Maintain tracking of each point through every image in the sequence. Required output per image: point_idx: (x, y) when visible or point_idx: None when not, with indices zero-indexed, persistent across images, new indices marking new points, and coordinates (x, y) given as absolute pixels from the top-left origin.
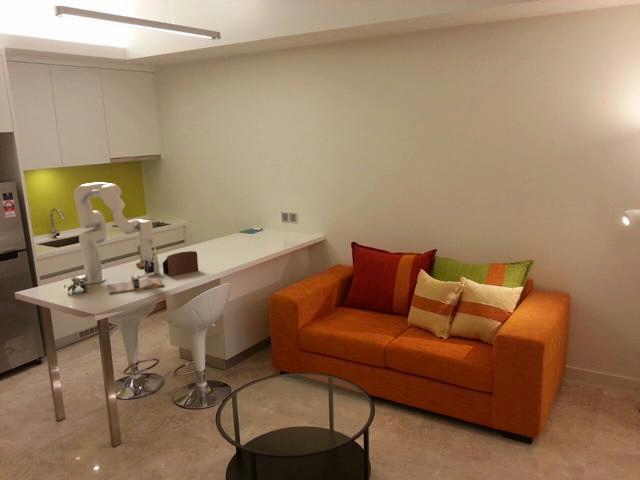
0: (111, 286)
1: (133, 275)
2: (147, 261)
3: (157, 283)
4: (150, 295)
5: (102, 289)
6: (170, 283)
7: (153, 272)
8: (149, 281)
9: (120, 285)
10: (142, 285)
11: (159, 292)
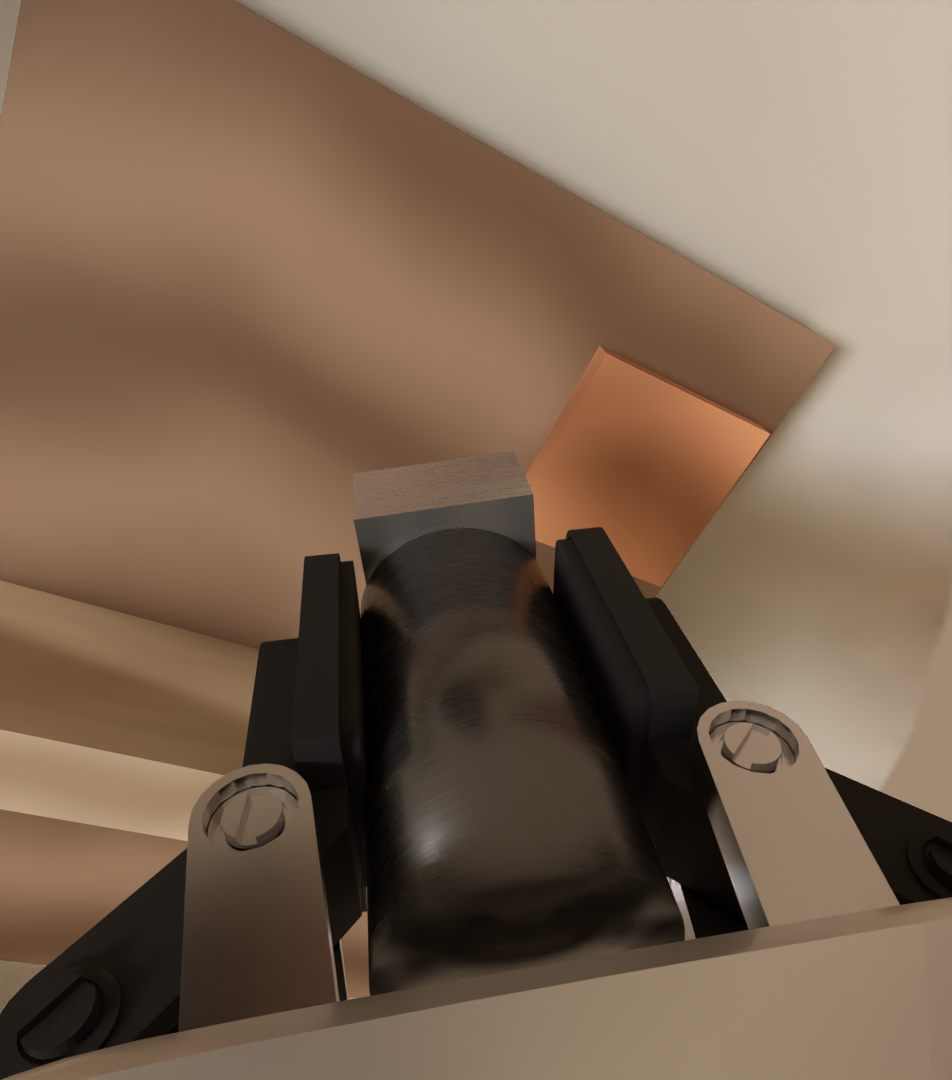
0: (45, 929)
1: (43, 783)
2: (275, 952)
3: (685, 435)
4: (902, 716)
5: (7, 970)
6: (761, 42)
7: (526, 502)
8: (276, 397)
9: (97, 843)
10: None
11: (946, 582)
